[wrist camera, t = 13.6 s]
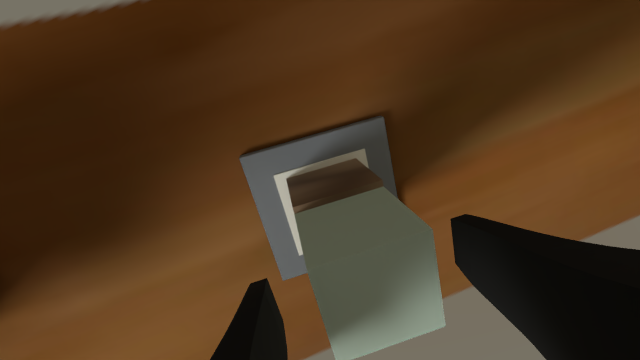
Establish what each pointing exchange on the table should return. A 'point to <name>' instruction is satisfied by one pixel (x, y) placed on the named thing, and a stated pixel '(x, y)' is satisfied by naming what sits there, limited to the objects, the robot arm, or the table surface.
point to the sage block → (371, 272)
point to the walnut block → (331, 184)
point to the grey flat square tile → (301, 157)
